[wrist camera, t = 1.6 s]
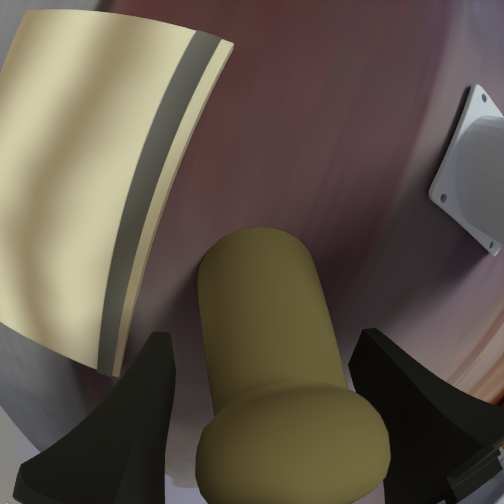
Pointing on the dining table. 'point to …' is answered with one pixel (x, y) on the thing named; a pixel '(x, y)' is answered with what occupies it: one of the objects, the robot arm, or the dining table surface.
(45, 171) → the board
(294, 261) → the cork
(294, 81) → the dining table surface
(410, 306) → the dining table surface
